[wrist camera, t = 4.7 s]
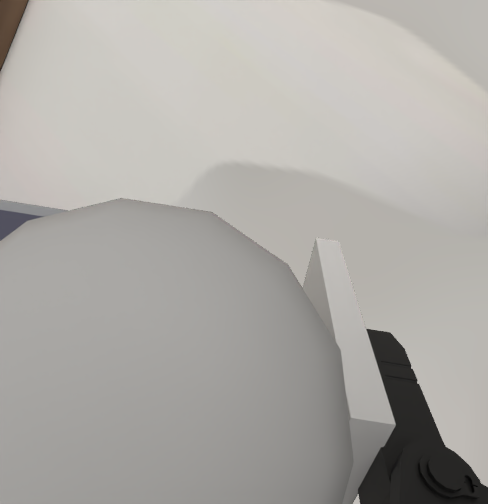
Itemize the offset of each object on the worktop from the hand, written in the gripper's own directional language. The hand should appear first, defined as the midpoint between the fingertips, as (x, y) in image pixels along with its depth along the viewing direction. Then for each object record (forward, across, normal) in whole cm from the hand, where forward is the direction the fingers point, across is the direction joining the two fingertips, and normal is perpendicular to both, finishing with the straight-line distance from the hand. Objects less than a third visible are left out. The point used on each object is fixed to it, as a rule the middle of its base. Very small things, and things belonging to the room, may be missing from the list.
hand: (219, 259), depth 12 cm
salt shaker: (0, 0, -6) cm, 6 cm away
